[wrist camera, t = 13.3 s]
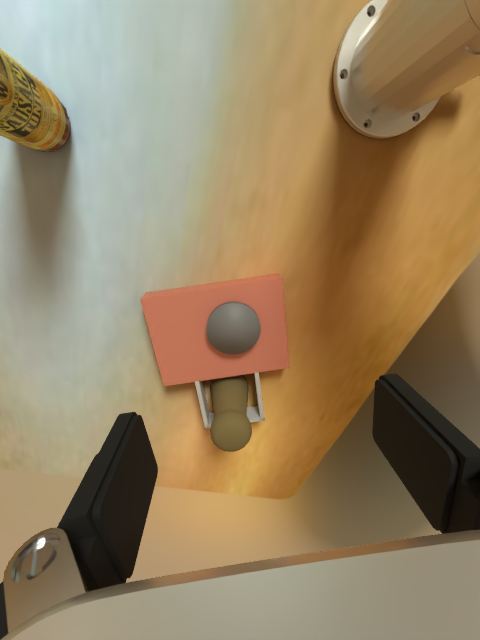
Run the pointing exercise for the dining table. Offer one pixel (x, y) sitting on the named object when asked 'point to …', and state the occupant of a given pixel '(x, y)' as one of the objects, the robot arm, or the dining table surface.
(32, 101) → the sauce bottle
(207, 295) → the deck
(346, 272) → the dining table surface
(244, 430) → the cork
